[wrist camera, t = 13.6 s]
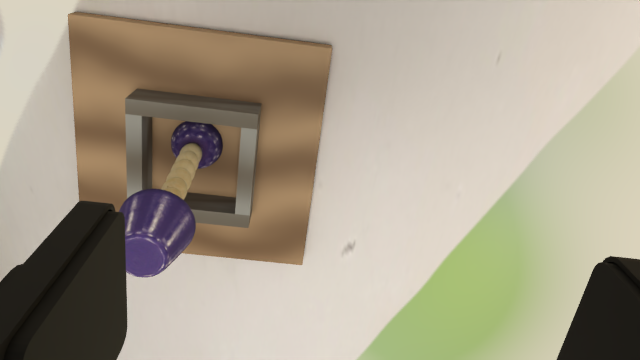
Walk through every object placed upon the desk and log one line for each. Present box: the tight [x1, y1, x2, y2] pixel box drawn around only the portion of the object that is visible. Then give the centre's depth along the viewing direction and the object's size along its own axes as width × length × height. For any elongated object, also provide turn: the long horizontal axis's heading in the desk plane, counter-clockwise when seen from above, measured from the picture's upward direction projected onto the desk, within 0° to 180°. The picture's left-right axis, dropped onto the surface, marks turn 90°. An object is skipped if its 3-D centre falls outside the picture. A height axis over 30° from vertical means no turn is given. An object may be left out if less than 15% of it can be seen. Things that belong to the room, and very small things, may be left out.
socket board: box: [68, 12, 332, 265], centre depth 43 cm, size 20×20×4 cm
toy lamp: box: [119, 121, 223, 277], centre depth 36 cm, size 5×5×17 cm
